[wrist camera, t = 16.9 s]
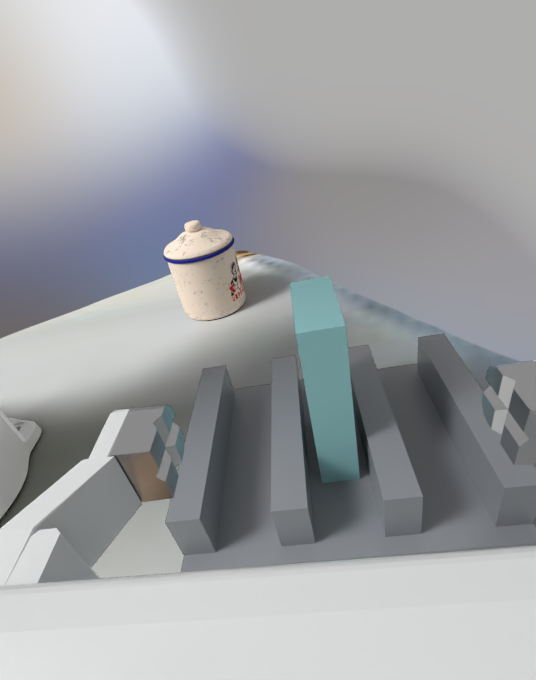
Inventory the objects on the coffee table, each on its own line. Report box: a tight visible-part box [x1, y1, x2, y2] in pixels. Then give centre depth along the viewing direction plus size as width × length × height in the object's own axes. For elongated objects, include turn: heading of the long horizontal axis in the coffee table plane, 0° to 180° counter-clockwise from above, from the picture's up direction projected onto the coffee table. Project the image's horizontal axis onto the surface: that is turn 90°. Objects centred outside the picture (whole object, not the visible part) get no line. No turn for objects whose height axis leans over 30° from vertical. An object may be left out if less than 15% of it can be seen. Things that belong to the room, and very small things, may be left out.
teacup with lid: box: [164, 220, 246, 321], centre depth 52 cm, size 12×9×12 cm
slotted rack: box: [165, 334, 536, 572], centre depth 28 cm, size 20×16×5 cm
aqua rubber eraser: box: [290, 276, 360, 483], centre depth 25 cm, size 2×6×12 cm, turn 0°
